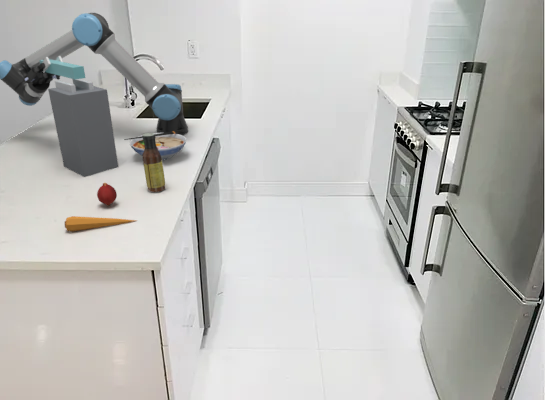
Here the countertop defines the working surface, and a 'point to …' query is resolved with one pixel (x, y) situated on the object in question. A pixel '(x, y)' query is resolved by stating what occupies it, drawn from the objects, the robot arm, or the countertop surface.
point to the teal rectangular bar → (65, 69)
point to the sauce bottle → (153, 164)
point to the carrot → (91, 223)
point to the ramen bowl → (161, 143)
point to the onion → (106, 194)
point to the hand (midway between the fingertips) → (54, 60)
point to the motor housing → (83, 127)
